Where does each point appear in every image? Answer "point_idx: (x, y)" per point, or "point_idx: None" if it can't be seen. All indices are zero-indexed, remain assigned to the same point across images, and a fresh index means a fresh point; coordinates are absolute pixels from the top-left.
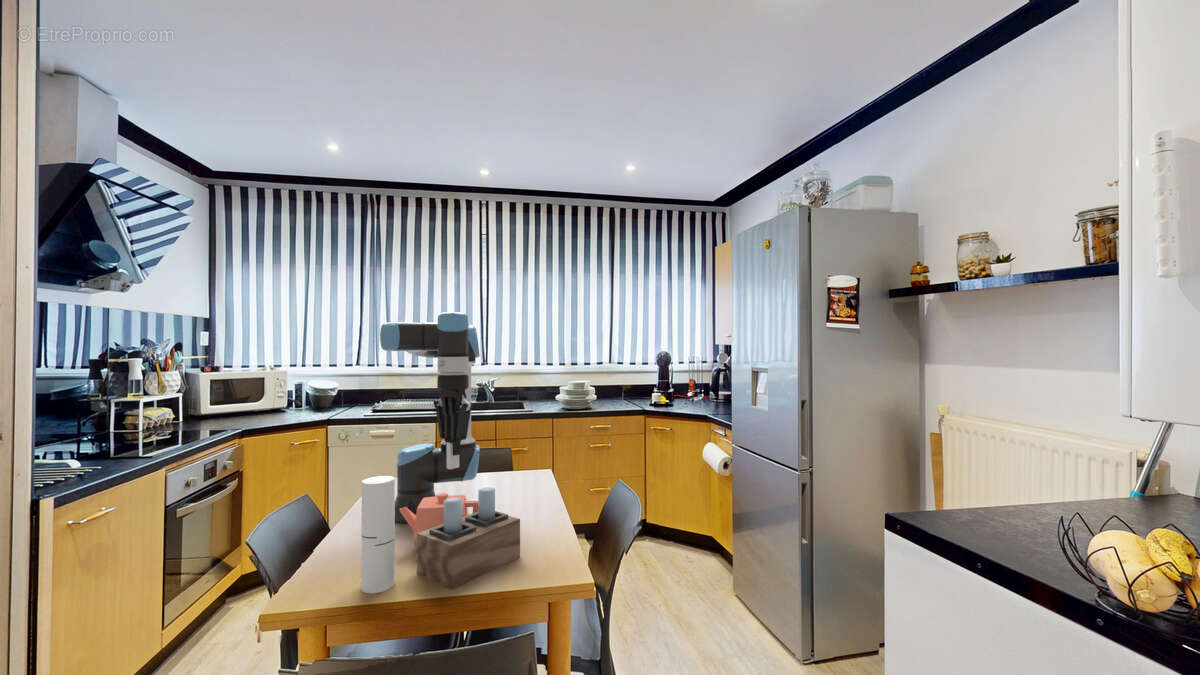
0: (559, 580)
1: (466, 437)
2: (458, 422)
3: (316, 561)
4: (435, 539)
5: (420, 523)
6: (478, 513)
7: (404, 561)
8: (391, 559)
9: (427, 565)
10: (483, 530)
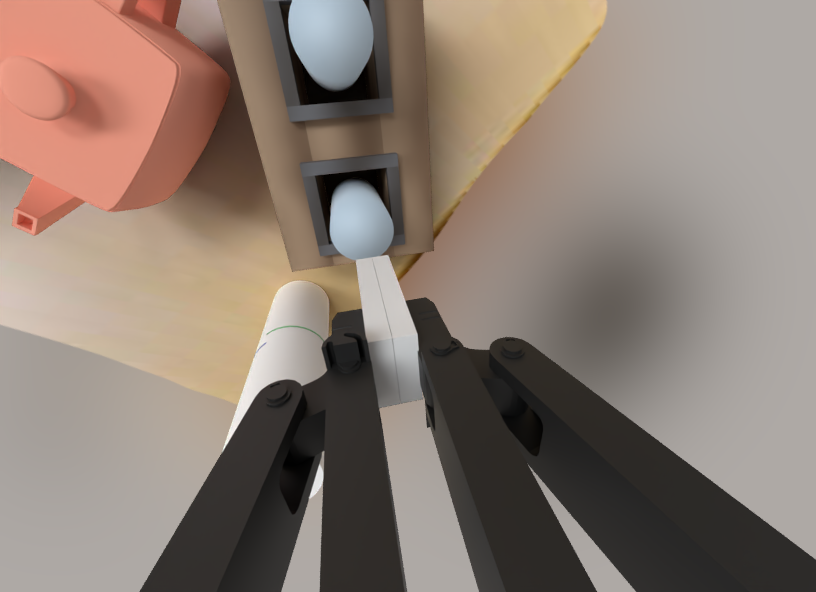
0: (560, 41)
1: (530, 344)
2: (617, 555)
3: (95, 351)
4: None
5: (152, 198)
6: (321, 84)
7: (216, 229)
8: (323, 317)
9: None
10: (409, 134)
